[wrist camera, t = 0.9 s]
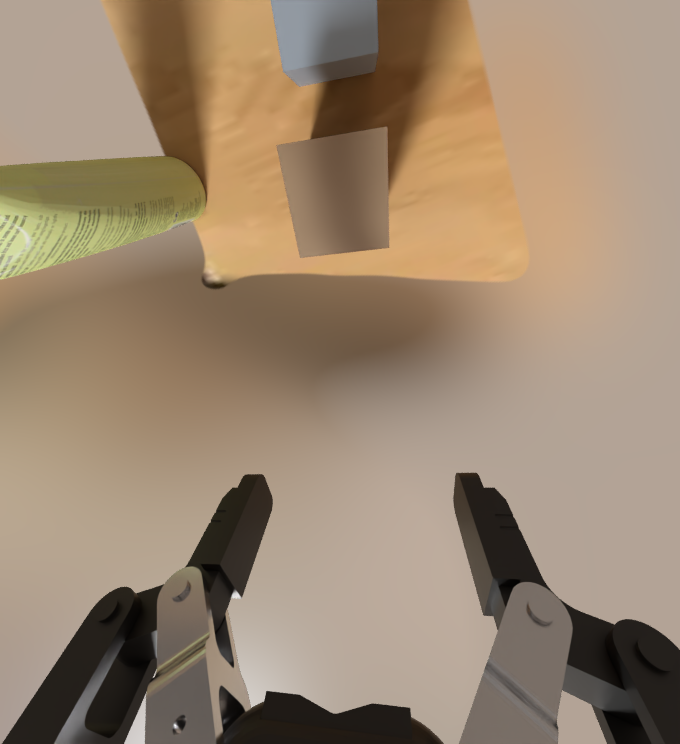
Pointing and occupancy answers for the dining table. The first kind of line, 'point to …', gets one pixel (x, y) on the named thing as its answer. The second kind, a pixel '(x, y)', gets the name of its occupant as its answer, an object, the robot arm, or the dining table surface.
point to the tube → (90, 207)
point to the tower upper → (338, 192)
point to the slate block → (326, 38)
